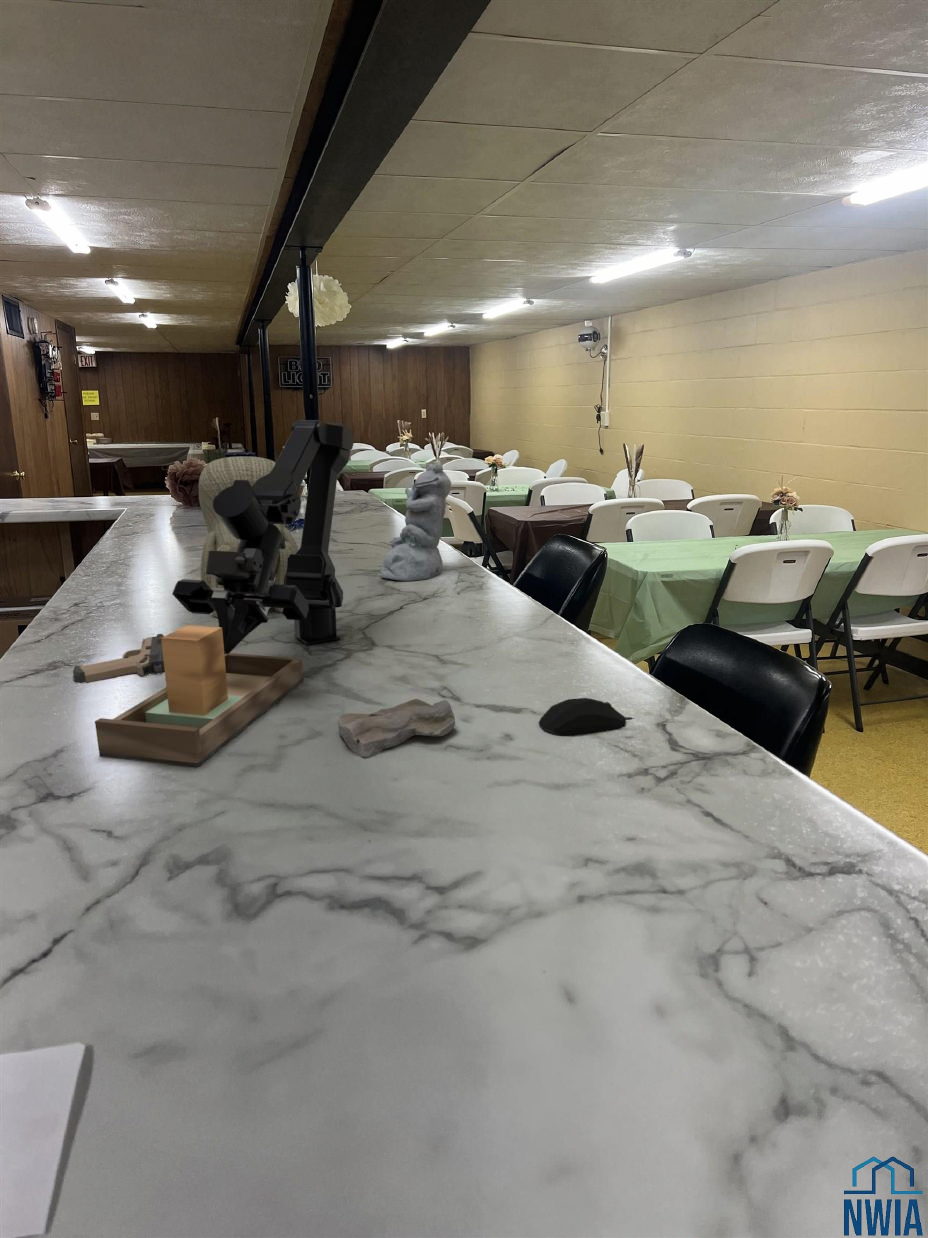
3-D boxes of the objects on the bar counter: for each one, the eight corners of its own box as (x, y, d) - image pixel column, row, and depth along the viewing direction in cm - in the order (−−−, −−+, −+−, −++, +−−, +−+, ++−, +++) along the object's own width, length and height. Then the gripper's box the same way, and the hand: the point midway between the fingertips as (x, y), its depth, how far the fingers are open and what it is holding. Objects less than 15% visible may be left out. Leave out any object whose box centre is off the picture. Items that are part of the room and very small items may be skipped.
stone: (355, 764, 91) (354, 732, 90) (329, 735, 100) (328, 705, 99) (465, 740, 98) (465, 710, 97) (432, 714, 106) (432, 686, 105)
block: (194, 695, 105) (187, 625, 102) (228, 698, 104) (222, 627, 101) (169, 712, 99) (161, 637, 96) (204, 715, 98) (197, 640, 95)
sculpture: (379, 562, 200) (393, 448, 188) (438, 570, 203) (456, 458, 190) (378, 590, 184) (393, 467, 172) (442, 598, 186) (462, 477, 174)
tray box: (225, 673, 121) (223, 646, 119) (303, 680, 118) (301, 652, 117) (99, 756, 92) (94, 721, 91) (197, 767, 90) (194, 731, 89)
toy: (292, 582, 183) (285, 452, 175) (314, 614, 155) (307, 462, 147) (200, 588, 176) (188, 454, 168) (206, 623, 148) (192, 464, 140)
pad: (181, 704, 107) (179, 690, 107) (254, 711, 105) (253, 697, 104) (146, 726, 100) (145, 712, 99) (224, 734, 97) (223, 720, 97)
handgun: (72, 688, 116) (170, 675, 121) (69, 672, 116) (168, 660, 120) (86, 653, 134) (172, 643, 138) (84, 638, 133) (170, 629, 137)
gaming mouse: (654, 729, 102) (656, 701, 101) (549, 742, 98) (551, 713, 97) (631, 712, 108) (633, 685, 107) (532, 723, 104) (532, 695, 103)
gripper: (172, 523, 109) (133, 620, 102) (295, 528, 105) (264, 629, 98) (206, 566, 119) (174, 657, 111) (320, 572, 115) (294, 667, 108)
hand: (224, 652), depth 107 cm, fingers closed
